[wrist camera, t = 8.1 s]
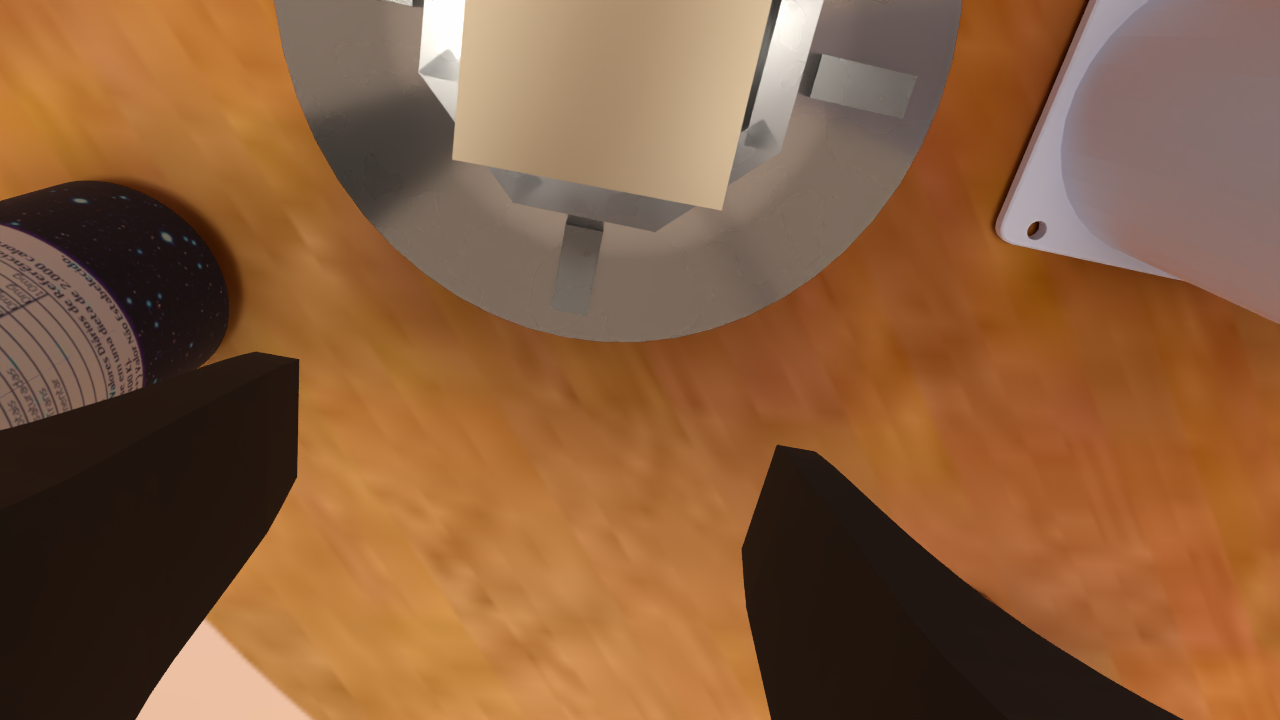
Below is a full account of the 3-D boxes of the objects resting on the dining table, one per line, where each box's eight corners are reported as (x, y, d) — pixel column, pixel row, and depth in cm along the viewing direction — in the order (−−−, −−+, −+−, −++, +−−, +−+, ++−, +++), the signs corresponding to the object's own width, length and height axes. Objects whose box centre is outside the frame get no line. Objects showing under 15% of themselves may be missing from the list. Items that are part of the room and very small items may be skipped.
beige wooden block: (721, -44, 16) (795, -99, 9) (684, 136, 18) (721, 210, 11) (546, -83, 16) (478, -172, 9) (524, 104, 18) (452, 159, 10)
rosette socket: (1061, -287, 15) (1193, -382, 12) (827, 373, 22) (866, 441, 18) (294, -513, 14) (176, -705, 10) (287, 270, 20) (213, 323, 17)
